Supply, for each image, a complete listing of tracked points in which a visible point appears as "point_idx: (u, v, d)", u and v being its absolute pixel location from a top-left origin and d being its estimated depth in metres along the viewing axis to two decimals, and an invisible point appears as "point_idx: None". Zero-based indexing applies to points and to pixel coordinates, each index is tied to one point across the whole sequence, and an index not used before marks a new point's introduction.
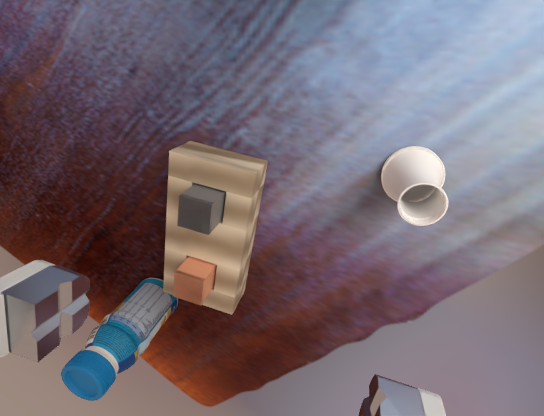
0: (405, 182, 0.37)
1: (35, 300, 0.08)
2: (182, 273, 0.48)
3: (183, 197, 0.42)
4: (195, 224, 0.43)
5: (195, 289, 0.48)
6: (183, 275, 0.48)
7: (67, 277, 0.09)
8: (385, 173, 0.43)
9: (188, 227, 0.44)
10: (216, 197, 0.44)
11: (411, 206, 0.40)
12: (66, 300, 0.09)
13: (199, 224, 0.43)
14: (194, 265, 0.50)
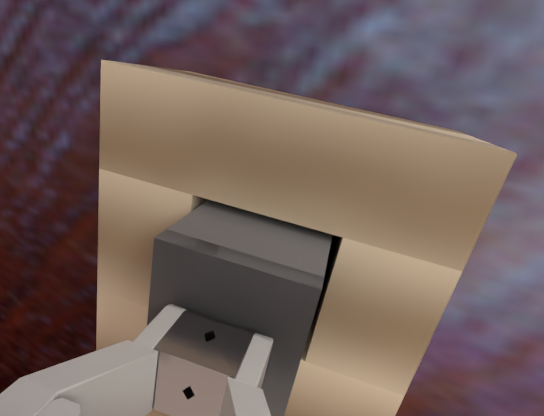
0: None
1: (192, 357, 0.07)
2: None
3: (175, 248, 0.09)
4: None
5: None
6: None
7: (207, 326, 0.08)
8: None
9: None
10: (316, 245, 0.10)
11: None
12: None
13: None
14: None
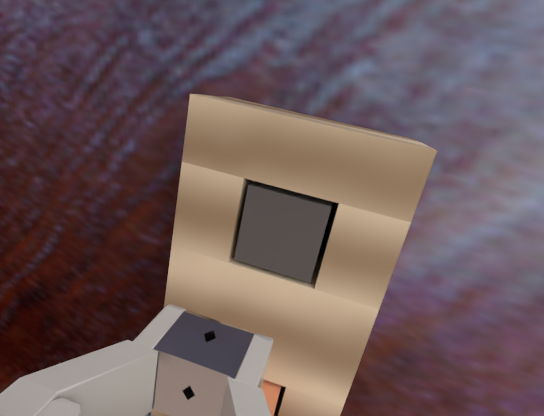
0: None
1: (192, 357, 0.07)
2: None
3: (258, 190, 0.18)
4: (280, 256, 0.18)
5: None
6: None
7: (207, 326, 0.08)
8: None
9: (261, 263, 0.19)
10: None
11: None
12: None
13: (290, 256, 0.18)
14: None
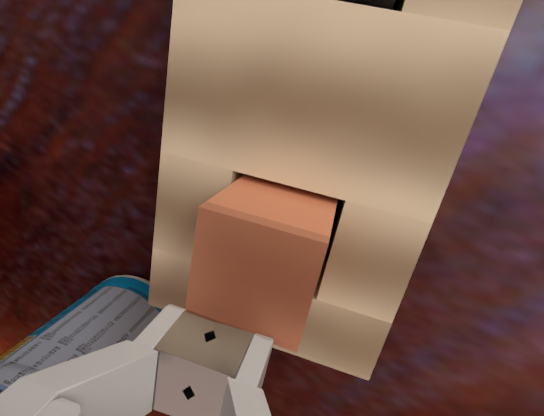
0: None
1: (192, 357, 0.07)
2: (233, 212, 0.11)
3: None
4: None
5: (284, 284, 0.11)
6: (237, 220, 0.11)
7: (207, 326, 0.08)
8: None
9: None
10: None
11: None
12: None
13: None
14: (268, 197, 0.13)
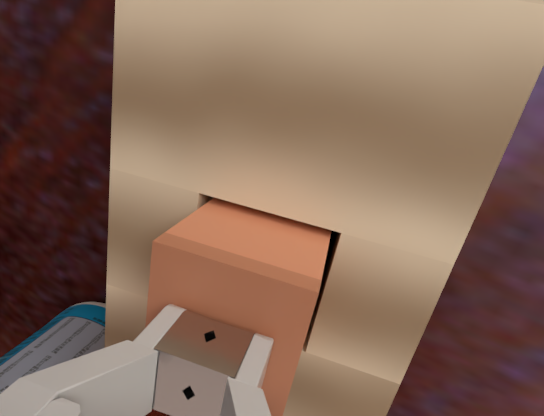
0: None
1: (192, 357, 0.07)
2: (197, 247, 0.09)
3: None
4: None
5: None
6: (201, 258, 0.09)
7: (207, 326, 0.08)
8: None
9: None
10: None
11: None
12: None
13: None
14: (247, 222, 0.11)
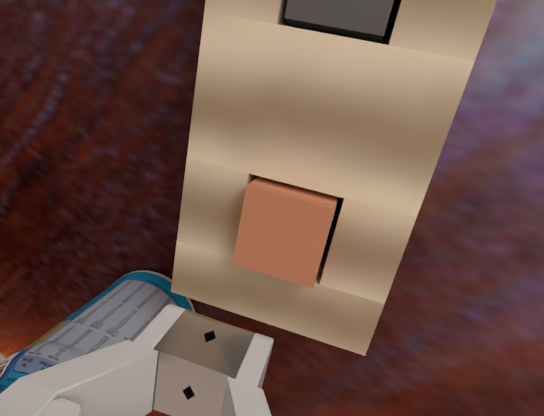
0: None
1: (191, 357, 0.07)
2: (269, 189, 0.17)
3: None
4: (345, 2, 0.14)
5: (305, 238, 0.17)
6: (273, 194, 0.16)
7: (206, 326, 0.08)
8: None
9: (320, 18, 0.15)
10: None
11: None
12: None
13: (359, 0, 0.14)
14: None
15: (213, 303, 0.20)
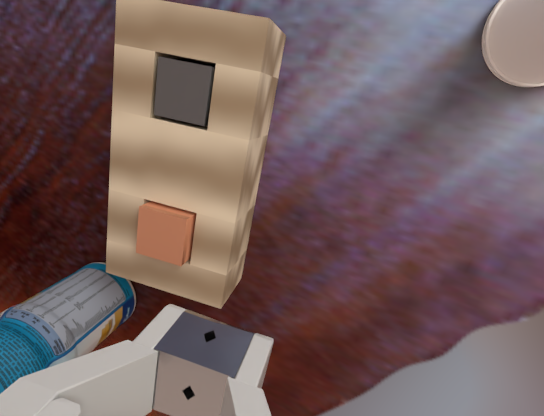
0: None
1: (192, 357, 0.07)
2: (153, 208, 0.29)
3: (165, 59, 0.26)
4: (183, 108, 0.27)
5: (173, 236, 0.29)
6: (153, 211, 0.29)
7: (207, 326, 0.08)
8: (497, 24, 0.24)
9: (171, 115, 0.27)
10: None
11: None
12: None
13: (189, 107, 0.27)
14: None
15: (131, 278, 0.33)
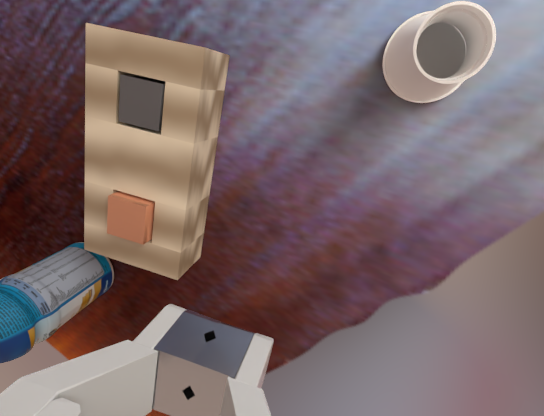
0: None
1: (191, 357, 0.07)
2: (119, 197, 0.35)
3: (126, 77, 0.32)
4: (141, 116, 0.33)
5: (136, 220, 0.35)
6: (119, 199, 0.35)
7: (206, 326, 0.08)
8: (389, 53, 0.30)
9: (132, 122, 0.33)
10: None
11: None
12: None
13: (146, 116, 0.33)
14: None
15: (105, 255, 0.39)
